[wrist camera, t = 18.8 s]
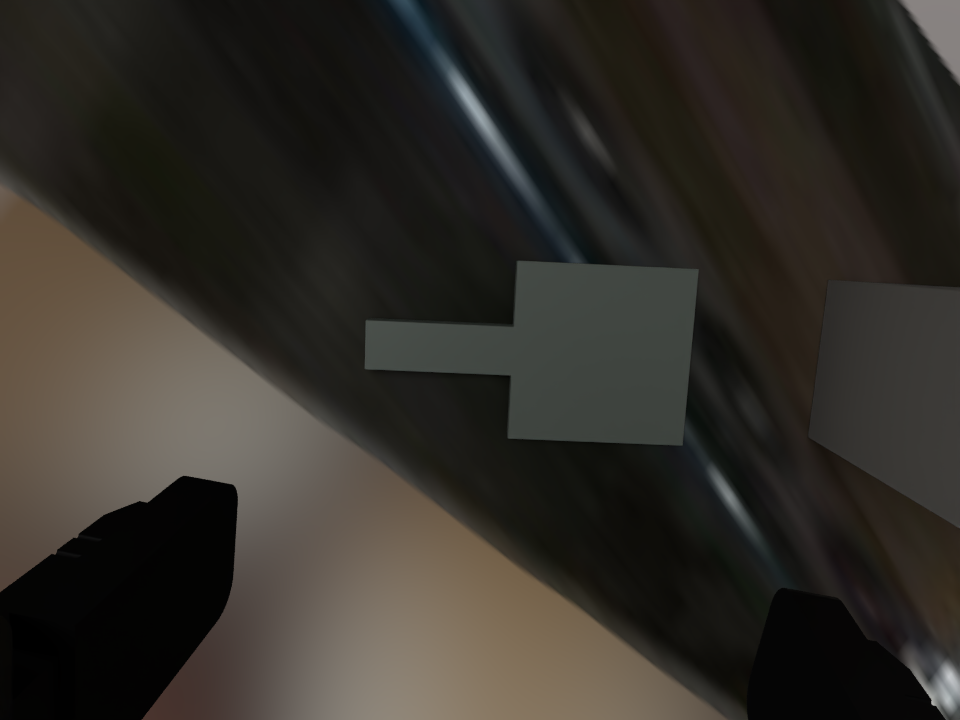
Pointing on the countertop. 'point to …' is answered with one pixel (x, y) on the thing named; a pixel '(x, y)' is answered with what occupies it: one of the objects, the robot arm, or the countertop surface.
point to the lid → (570, 351)
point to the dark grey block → (893, 387)
